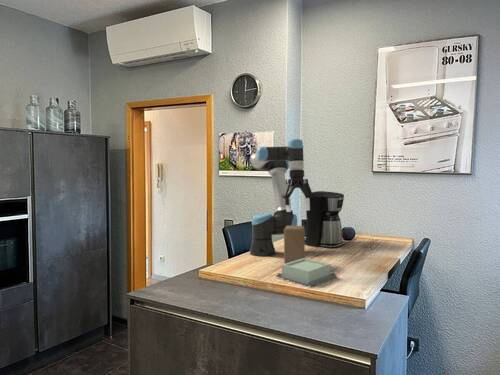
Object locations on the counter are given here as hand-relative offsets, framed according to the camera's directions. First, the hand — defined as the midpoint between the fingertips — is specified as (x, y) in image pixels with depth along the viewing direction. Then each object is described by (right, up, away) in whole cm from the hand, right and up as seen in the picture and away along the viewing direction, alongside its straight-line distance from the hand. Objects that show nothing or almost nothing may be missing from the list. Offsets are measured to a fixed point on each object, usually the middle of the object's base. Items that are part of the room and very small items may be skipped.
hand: (298, 211), depth 201 cm
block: (-1, -29, +6) cm, 29 cm away
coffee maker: (+22, -24, +56) cm, 65 cm away
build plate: (+2, -30, -16) cm, 34 cm away
